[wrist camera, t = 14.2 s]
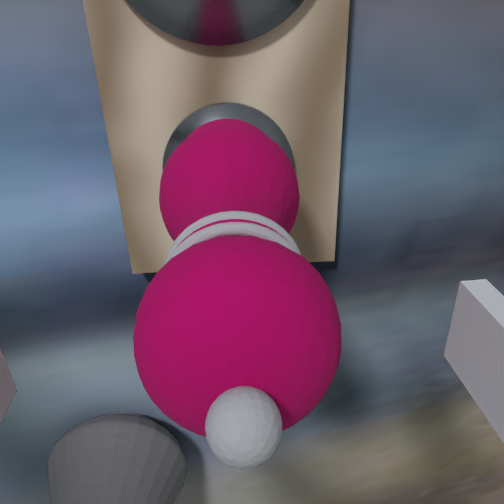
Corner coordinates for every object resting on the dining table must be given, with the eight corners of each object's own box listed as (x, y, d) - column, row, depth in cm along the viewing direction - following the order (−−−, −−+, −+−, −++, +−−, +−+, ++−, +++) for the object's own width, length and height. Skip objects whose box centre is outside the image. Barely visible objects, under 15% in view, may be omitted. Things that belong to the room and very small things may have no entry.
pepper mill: (308, 140, 27) (484, 388, 9) (256, 240, 29) (312, 575, 12) (194, 87, 25) (135, 265, 7) (151, 199, 28) (32, 523, 10)
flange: (171, 231, 29) (170, 235, 29) (155, 105, 26) (153, 107, 25) (292, 224, 30) (293, 227, 29) (293, 98, 26) (294, 100, 26)
